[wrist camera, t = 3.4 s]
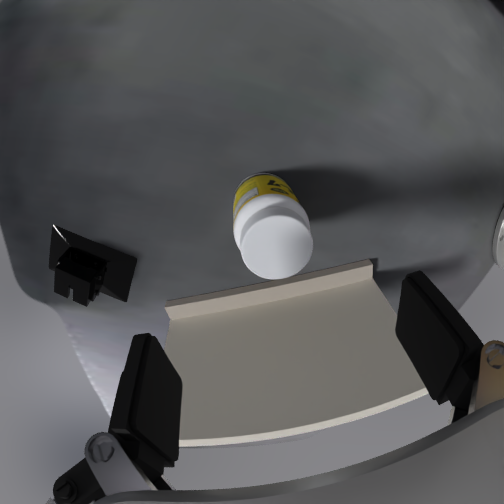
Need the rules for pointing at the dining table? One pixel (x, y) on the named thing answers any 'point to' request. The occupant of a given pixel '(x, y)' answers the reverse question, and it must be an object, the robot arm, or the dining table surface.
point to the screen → (287, 357)
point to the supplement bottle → (271, 227)
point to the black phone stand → (88, 268)
